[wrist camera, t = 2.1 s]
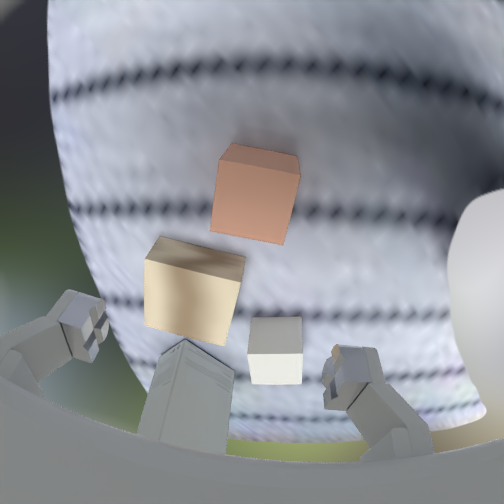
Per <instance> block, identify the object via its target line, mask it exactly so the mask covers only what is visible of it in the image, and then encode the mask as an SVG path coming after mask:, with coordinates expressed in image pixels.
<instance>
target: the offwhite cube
mask: <svg viewBox="0 0 504 504" xmlns="http://www.w3.org/2000/svg"><path fill="white" fill-rule="evenodd" d="M247 356H248V362H249V368H250V374H251V380H252V384H266V385H281V384H301V383H302V359H303V347H302V321H301V317H252V321H251V329H250V336H249V343H248V351H247Z"/></svg>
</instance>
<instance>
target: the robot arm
mask: <svg viewBox="0 0 504 504" xmlns="http://www.w3.org/2000/svg"><path fill="white" fill-rule="evenodd" d="M105 309H106V304H105V301H104V300H102V299H99V298H96V297H93V296H90V295H86V294H83V293H79V292H76V291H73V290H70V289H69V290H66V291H65V292H64V294H63V295H62V296H61V297H60V299H59V300H58V301H57V302H56V304H55V305H54V307H53V308H52V309H51V310H50V312H49V313H48V314H47V316H46V317H43V316H42V317H40V318H38V319H36V320H33V321H31V322H29V323H27V324H25V325H23V326H20V327H18V328H16V329H14V330H12V331H10V332H8V333H6V334H4V335H2V336H0V504H504V439H495V440H492V441H489V442H485V443H481V444H478V445H474V446H470V447H465V448H461V449H456V450H452V451H446V452H441V453H436V454H435V452H434V448H433V443H432V440H431V435H430V431H429V427H428V424H427V423H426V422H425V421H424V420H423V419H422V418H421V417H420V416H419V415H418V414H417V413H416V412H415V411H414V409H413V408H412V407H411V406H410V405H409V404H408V403H407V402H406V401H405V400H404V399H403V398H402V397H401V396H400V395H399V394H398V393H397V392H396V390H395V389H394V388H393V387H392V386H391V385H390V384H386V383H385V379H384V375H383V371H382V367H381V363H380V360H379V356H378V352H377V350H376V349H375V348H369V347H359V346H348V345H339V344H336V345H335V346H334V347H333V349H332V351H331V353H332V357H330V358H328V359H327V360H326V362H325V364H324V367H323V371H322V384H323V385H324V386H325V387H326V390H325V392H324V393H323V397H324V408H325V409H328V410H341V411H346V413H347V414H348V416H349V417H350V419H351V420H352V422H353V423H354V424H355V426H356V427H357V429H358V430H359V432H360V433H361V435H362V436H363V438H364V439H365V441H366V442H367V444H368V445H369V447H370V449H369V450H368V451H367V452H365V453H364V454H363V455H362V456H361V457H360V458H359V462H343V463H341V462H340V463H318V462H291V461H276V460H265V459H256V458H247V457H239V456H232V455H226V454H220V453H214V452H208V451H203V450H198V449H193V448H188V447H183V446H179V445H175V444H170V443H166V442H162V441H158V440H155V439H151V438H147V437H144V436H140V435H137V434H133V433H130V432H127V431H124V430H121V429H118V428H115V427H111V426H109V425H106V424H103V423H101V422H98V421H95V420H92V419H90V418H87V417H85V416H82V415H80V414H77V413H75V412H72V411H70V410H67V409H65V408H63V407H61V406H58V405H56V404H54V403H52V402H50V401H47V400H45V399H43V398H44V392H43V391H42V389H41V387H40V386H39V384H38V382H39V381H41V380H42V379H44V378H45V377H46V376H48V375H49V374H51V373H52V372H53V371H55V370H56V369H58V368H59V367H60V366H62V365H63V364H65V363H66V362H68V361H69V360H71V359H72V357H74V358H77V359H80V360H83V361H86V362H90V363H92V362H93V360H94V359H95V357H96V355H97V353H98V351H99V348H98V344H99V343H101V342H103V341H104V339H105V338H106V336H107V332H108V328H109V320H108V316H107V315H106V314H105V313H104V311H105Z"/></svg>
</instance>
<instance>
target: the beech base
mask: <svg viewBox="0 0 504 504" xmlns="http://www.w3.org/2000/svg"><path fill="white" fill-rule="evenodd" d="M245 260H246V257H243V256H239V255H234V254H230V253H226V252H222V251H218V250H214V249H210V248H205V247H201V246H197V245H193V244H189V243H185V242H181V241H177V240H173V239H168V238H164V237H159V238H158V240H157V241H156V243H155V244H154V246H153V247H152V249H151V250H150V252H149V253H148V255H147V256H146V257H145V269H144V315H145V326H148V327H152V328H155V329H159V330H162V331H166V332H169V333H173V334H177V335H181V336H184V337H188V338H192V339H196V340H200V341H204V342H208V343H212V344H216V345H221V346H225V343H226V339H227V335H228V331H229V327H230V323H231V320H232V316H233V312H234V308H235V304H236V300H237V296H238V293H239V289H240V285H241V281H242V275H243V270H244V265H245Z"/></svg>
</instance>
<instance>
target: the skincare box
mask: <svg viewBox="0 0 504 504" xmlns="http://www.w3.org/2000/svg"><path fill="white" fill-rule="evenodd" d="M234 374H235V371H234V370H232V369H230V368H229V367H227V366H225V365H224V364H222V363H221V362H219V361H218V360H216V359H214V358H213V357H211V356H210V355H208V354H207V353H205V352H204V351H202V350H201V349H199V348H197V347H196V346H194V345H193V344H191V343H190V342H189V341H187V340H183V341H182V342H180V343H179V344H177V345H176V346H174V347H173V348H171V349H169V350H168V351H167V352H165V353H164V354H162V355H161V356H160V358H159V360H158V363H157V366H156V369H155V372H154V376H153V379H152V382H151V386H150V389H149V392H148V396H147V399H146V403H145V406H144V409H143V413H142V416H141V420H140V423H139V427H138V430H137V435H140V436H144V437H147V438H151V439H155V440H158V441H162V442H166V443H170V444H175V445H179V446H183V447H188V448H193V449H198V450H203V451H208V452H214V453H220V454H226V446H227V437H228V429H229V419H230V410H231V401H232V392H233V383H234Z"/></svg>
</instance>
